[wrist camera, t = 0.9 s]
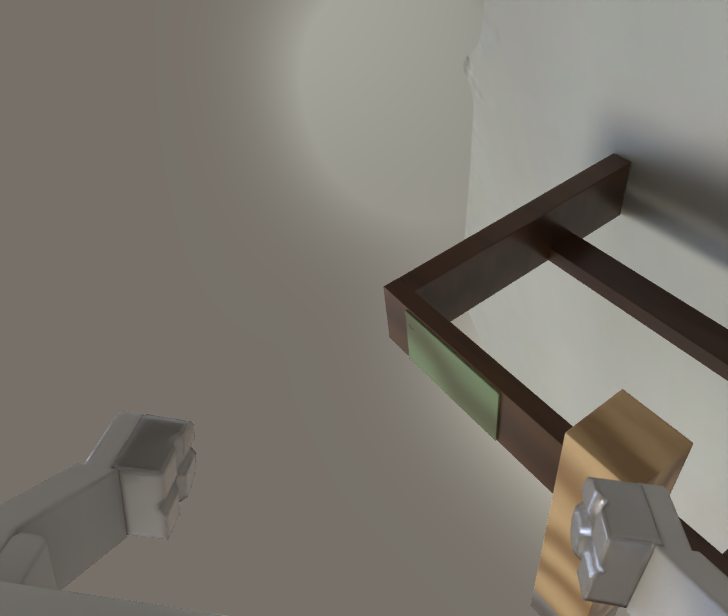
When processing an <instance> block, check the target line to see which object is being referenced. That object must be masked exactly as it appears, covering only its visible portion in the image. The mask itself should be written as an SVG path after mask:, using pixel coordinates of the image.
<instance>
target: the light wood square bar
mask: <svg viewBox="0 0 728 616" xmlns="http://www.w3.org/2000/svg"><path fill="white" fill-rule="evenodd" d="M692 445H693V442H691V441H690V440H689V439H687V438H686V437H685V436H684V435H682V434H681V433H680V432H678V431H677V430H676V429H674V428H673V427H672V426H670V425H669V424H668V423H666V422H665V421H664V420H663V419H661V418H660V417H659V416H657V415H656V414H655V413H653V412H652V411H651V410H649V409H648V408H647V407H646V406H644V405H643V404H642V403H640V402H639V401H638V400H636V399H635V398H634V397H632V396H631V395H630V394H628V393H627V392H626V391H625V390H623V389H622V390H620V391H619V392H618V393H617V394H615V395H614V396H613V397H611V398H610V399H609V400H607V401H606V402H605V403H603V404H602V405H601V406H599V407H598V408H597V409H596V410H594V411H593V412H592V413H590V414H589V415H588V416H586V417H585V418H584V419H582V420H581V421H580V422H578V423H577V424H576V425H575V426H573V427H572V428H571V429H569V430H568V431H567V432H566V433H565V436H564V441H563V447H562V452H561V457H560V462H559V467H558V472H557V477H556V482H555V487H554V492H553V497H552V502H551V507H550V512H549V517H548V522H547V527H546V532H545V537H544V543H543V547H542V552H541V557H540V562H539V567H538V573H537V577H536V582H535V587H534V592H533V597H532V602H531V606H532V607H533V609H534V610H535V611H536V612H537V613H538V614H539V615H540V616H615V614H616V612H617V609H618V606H613V605H607V604H601V603H595V602H590V601H584V600H583V598H582V594H581V589H580V584H579V580H578V575H577V569H578V567H579V564H580V560H579V559H578V558H577V556H576V555H575V554H574V553H573V551H572V545H571V537H570V528H571V519H572V515H573V512H574V509H575V506H576V505H578V504H579V503H581V502H582V501H583V496H582V492H581V489H582V487H583V484H584V481H585V480H586V479H587V478H588V477H595V478H603V479H610V480H618V481H625V482H633V483H643V484H651V485H659V486H664V487H665V488H666V489H667V490H668V492H669V495H670V493H671V491H672V489H673V487H674V485H675V483H676V480H677V478H678V476H679V474H680V472H681V469H682V467H683V465H684V463H685V461H686V458H687V456H688V454H689V452H690V450H691V448H692Z"/></svg>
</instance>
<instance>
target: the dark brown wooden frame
mask: <svg viewBox="0 0 728 616" xmlns="http://www.w3.org/2000/svg"><path fill="white" fill-rule="evenodd" d="M630 164H631V162H629V161H627V160H625V159H623V158H621V157H619V156H617V155H615V154H611V155H610V156H608V157H606V158H604V159H603V160H601V161H599V162H598V163H596V164H594V165H592V166H591V167H589V168H587V169H585V170H584V171H582V172H580V173H579V174H577V175H575V176H573V177H572V178H570V179H568V180H567V181H565V182H563V183H561V184H560V185H558V186H556V187H555V188H553V189H551V190H549V191H548V192H546V193H544V194H542V195H541V196H539V197H537V198H536V199H534V200H532V201H530V202H529V203H527V204H525V205H524V206H522V207H520V208H518V209H517V210H515V211H513V212H512V213H510V214H508V215H506V216H505V217H503V218H501V219H499V220H498V221H496V222H494V223H493V224H491V225H489V226H487V227H486V228H484V229H482V230H481V231H479V232H477V233H475V234H474V235H472V236H470V237H469V238H467V239H465V240H464V241H462V242H460V243H458V244H457V245H455V246H453V247H451V248H450V249H448V250H446V251H444V252H443V253H441V254H439V255H438V256H436V257H434V258H432V259H431V260H429V261H427V262H426V263H424V264H422V265H420V266H419V267H417V268H415V269H414V270H412V271H410V272H408V273H407V274H405V275H403V276H401V277H400V278H398V279H396V280H394V281H392V282H391V283H389V284H387V285H385V286H384V294H385V303H386V311H387V320H388V328H389V336H390V338H391V339H392V340H393V341H394V342H395V343H396V344H397V345H398V346H399V347H400V348H401V349H402V350H403V351H404V352H405V353H406V354H408V355H409V357H410V359H411V360H412V361H413V362H414V363H415V364H416V365H417V366H418V367H419V368H420V369H421V370H422V371H423V372H424V373H425V374H427V376H429V377H430V378H431V379H432V380H433V381H434V382H435V383H436V384H437V385H438V386H439V387H440V388H441V389H442V390H443V391H444V392H445V393H446V394H447V395H448V396H449V397H451V399H453V400H454V401H455V402H456V403H457V404H458V405H459V406H460V407H461V408H462V409H463V410H464V411H465V412H466V413H467V414H468V415H469V416H470V417H471V418H472V419H473V420H475V422H477V423H478V424H479V425H480V426H481V427H482V428H483V429H484V430H485V431H486V432H487V433H488V434H489V435H490V436H491V437H492V438H493V439H494V440H498V441H499V442H500V443H501V444H502V445H503V446H504V447H505V448H506V449H507V450H508V451H509V452H510V453H511V454H512V455H513V456H514V457H515V458H516V459H517V460H518V461H519V462H521V463H522V464H523V465H524V466H525V467H526V468H527V469H528V470H529V471H530V472H531V473H532V474H533V475H534V476H535V477H536V478H537V479H538V480H539V481H540V482H541V483H542V484H543V485H544V486H546V487H547V488H548V489H549V490H550V491H551V492H552V493H553V492H554V487H555V482H556V477H557V472H558V467H559V462H560V457H561V452H562V447H563V441H564V436H565V433H566V432H567V431H568V430H569V429H571V428H572V427H573V426H572V425H570V424H569V423H568V422H567V421H566V420H565V419H563V418H562V417H561V416H560V415H559V414H558V413H556V412H555V411H554V410H553V409H552V408H550V407H549V406H548V405H547V404H546V403H545V402H543V401H542V400H541V399H540V398H539V397H538V396H536V395H535V394H534V393H533V392H532V391H531V390H529V389H528V388H527V387H526V386H525V385H524V384H522V383H521V382H520V381H519V380H518V379H516V378H515V377H514V376H513V375H512V374H511V373H509V372H508V371H507V370H506V369H505V368H504V367H502V366H501V365H500V364H499V363H498V362H497V361H495V360H494V359H493V358H492V357H491V356H490V355H488V354H487V353H486V352H485V351H483V350H482V349H481V348H480V347H479V346H478V345H476V344H475V343H474V342H473V341H472V340H471V339H470V338H468V337H467V336H466V335H465V334H464V333H462V332H461V331H460V330H459V329H458V328H457V327H456V326H454V325H453V324H452V323H451V321H452V320H454V319H455V318H457V317H458V316H460V315H462V314H463V313H465V312H466V311H468V310H470V309H471V308H473V307H474V306H476V305H478V304H479V303H481V302H482V301H484V300H485V299H487V298H489V297H490V296H492V295H493V294H495V293H497V292H498V291H500V290H501V289H503V288H504V287H506V286H508V285H509V284H511V283H512V282H514V281H516V280H517V279H519V278H520V277H522V276H524V275H525V274H527V273H528V272H530V271H531V270H533V269H535V268H536V267H538V266H539V265H541V264H543V263H544V262H546V261H547V260H549V261H551V262H552V263H554V264H555V265H557V266H558V267H560V268H561V269H562V270H564V271H565V272H567V273H568V274H570V275H571V276H573V277H574V278H576V279H577V280H579V281H580V282H582V283H583V284H585V285H586V286H588V287H589V288H591V289H592V290H594V291H595V292H597V293H598V294H600V295H601V296H603V297H604V298H606V299H607V300H609V301H610V302H611V303H613V304H614V305H616V306H617V307H619V308H620V309H622V310H623V311H625V312H626V313H628V314H629V315H631V316H632V317H634V318H635V319H637V320H638V321H640V322H641V323H643V324H644V325H646V326H647V327H649V328H650V329H652V330H653V331H655V332H656V333H657V334H659V335H660V336H662V337H663V338H665V339H666V340H668V341H669V342H671V343H672V344H674V345H675V346H677V347H678V348H680V349H681V350H683V351H684V352H686V353H687V354H689V355H690V356H692V357H693V358H695V359H696V360H698V361H699V362H701V363H702V364H704V365H705V366H706V367H708V368H709V369H711V370H712V371H714V372H715V373H717V374H718V375H720V376H721V377H723V378H724V379H726V380H727V381H728V329H726V328H725V327H723V326H722V325H720V324H718V323H717V322H715V321H714V320H712V319H710V318H709V317H707V316H706V315H704V314H702V313H701V312H699V311H697V310H696V309H694V308H693V307H691V306H689V305H688V304H686V303H685V302H683V301H681V300H680V299H678V298H677V297H675V296H673V295H672V294H670V293H669V292H667V291H665V290H664V289H662V288H660V287H659V286H657V285H656V284H654V283H652V282H651V281H649V280H648V279H646V278H644V277H643V276H641V275H640V274H638V273H636V272H635V271H633V270H632V269H630V268H628V267H627V266H625V265H623V264H622V263H620V262H619V261H617V260H615V259H614V258H612V257H611V256H609V255H607V254H606V253H604V252H603V251H601V250H599V249H598V248H596V247H595V246H593V245H591V244H590V243H588V242H586V241H585V240H583V239H582V238H584V237H585V236H587V235H589V234H590V233H592V232H593V231H595V230H597V229H598V228H600V227H601V226H603V225H604V224H606V223H608V222H609V221H611V220H612V219H614V218H616V217H617V216H619V215H620V210H621V206H622V201H623V196H624V192H625V187H626V182H627V178H628V173H629V168H630ZM679 520H680V522H681V524H682V527H683V529H684V532H685V534H686V537H687V539H688V542H689V544H690V547H691V549H692V551H697V552H700V553H701V554H702V555H704V556H705V557H706V558H707V559H708V560H709V561H710V562H711V563H713V564H714V565H715V566H716V567H717V568H718V569H719V570H720V571H721V572H723V573H724V574H725V575H726V576H727V577H728V549H727V550H726V551H725V552H724V553H723V554H722V553H720V552H719V551H718V550H717V549H716V548H715V547H713V546H712V545H711V544H710V543H709V542H707V541H706V540H705V539H704V538H703V537H702V536H700V535H699V534H698V533H697V532H696V531H695V530H693V529H692V528H691V527H690V526H689V525H688V524H686V523H685V522H684V521H683V520H682V519H681V518H679Z"/></svg>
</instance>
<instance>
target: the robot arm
mask: <svg viewBox="0 0 728 616" xmlns="http://www.w3.org/2000/svg"><path fill="white" fill-rule="evenodd" d="M194 437H195V430H194V424H193V423H192V422H190V421H184V420H178V419H172V418H166V417H160V416H154V415H148V414H146V415H143V414H138V413H132V412H126V411H122V412H120V413H119V414H117V415H116V417H115V418H114V420H113V421H112V423H111V424H110V426H109V427H108V429H107V430H106V432H105V433H104V435H103V436H102V438H101V439H100V441H99V443H98V444H97V445H96V447H95V448H94V450H93V452H92V453H91V455H90V456H89V458H88V459H87V461H86V462H85V464H79V463H77V464H75V465H73V466H72V467H70V468H68V469H66V470H64V471H62V472H60V473H58V474H57V475H55V476H53V477H51V478H49V479H47V480H45V481H44V482H42V483H40V484H38V485H36V486H34V487H32V488H31V489H29V490H27V491H25V492H23V493H21V494H19V495H18V496H16V497H14V498H12V499H10V500H8V501H6V502H4V503H3V504H1V505H0V616H229V615H223V614H216V613H210V612H203V611H196V610H190V609H183V608H176V607H170V606H163V605H157V604H150V603H143V602H137V601H130V600H123V599H116V598H109V597H103V596H96V595H90V594H83V593H76V592H70V591H63V590H62V589H63V588H64V587H65V586H67V585H68V584H69V583H70V582H72V581H73V580H74V579H75V578H77V577H78V576H79V575H80V574H82V573H83V572H84V571H85V570H87V569H88V568H89V567H90V566H92V565H93V564H94V563H95V562H97V561H98V560H99V559H100V558H102V557H103V556H104V555H105V554H107V553H108V552H109V551H110V550H112V549H113V548H114V547H115V546H116V545H118V544H119V543H120V542H122V541H123V540H124V539H125V538H126V537H127V535H133V536H141V537H150V538H158V539H167V540H168V539H169V537H170V535H171V533H172V531H173V528H174V526H175V524H176V522H177V519H178V517H179V515H180V507H179V502H180V501H182V500H184V499H185V498H187V497H188V494H189V492H190V489H191V487H192V483H193V480H194V476H195V470H196V452H195V451H194V450H193V448H192V447H191V444H192V442H193V440H194ZM581 492H582V496H583V501H582V502H581V503H579V504H578V505H576V506H575V509H574V512H573V515H572V519H571V528H570V537H571V545H572V551H573V553H574V554H575V555H576V556H577V558H578V559H579V560H580V564H579V567H578V569H577V575H578V580H579V584H580V589H581V594H582V598H583V600H584V601H590V602H595V603H601V604H607V605H613V606H618V607H624V608H626V611H627V612H628V613H629V614H630V616H728V577H727V576H726V575H725V574H724V573H723V572H721V571H720V570H719V569H718V568H717V567H716V566H715V565H714V564H713V563H711V562H710V561H709V560H708V559H707V558H706V557H705V556H704V555H702V554H701V553H700V552H697V551H692V549H691V547H690V544H689V542H688V539H687V537H686V534H685V532H684V529H683V527H682V524H681V522H680V520H679V517H678V515H677V512H676V510H675V507H674V505H673V502H672V500H671V497H670V495H669V492H668V490H667V489H666V488H665V487H664V486H659V485H651V484H643V483H633V482H625V481H618V480H610V479H603V478H595V477H588V478H587V479H586V480H585V481H584V484H583V487H582V489H581Z"/></svg>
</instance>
